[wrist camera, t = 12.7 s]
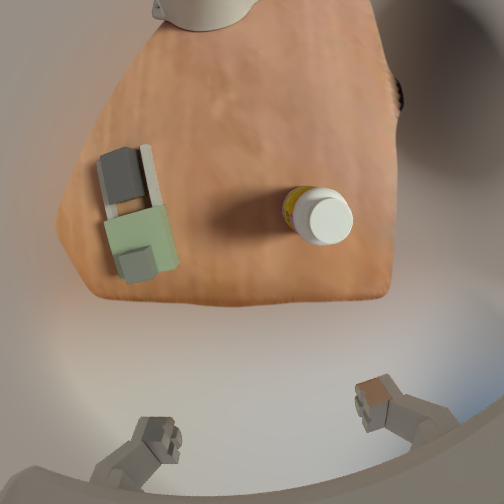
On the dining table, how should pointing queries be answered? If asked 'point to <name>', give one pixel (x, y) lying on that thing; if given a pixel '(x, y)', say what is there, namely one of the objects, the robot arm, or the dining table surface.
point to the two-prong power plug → (140, 231)
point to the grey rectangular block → (122, 175)
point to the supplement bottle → (317, 214)
